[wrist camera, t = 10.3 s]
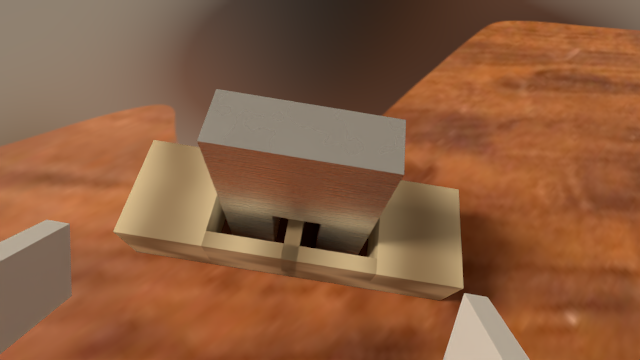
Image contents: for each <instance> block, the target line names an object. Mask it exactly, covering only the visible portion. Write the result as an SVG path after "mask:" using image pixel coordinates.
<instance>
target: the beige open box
mask: <svg viewBox="0 0 640 360" xmlns="http://www.w3.org/2000/svg"><path fill="white" fill-rule="evenodd" d="M225 219H226V217H225V214H224V211H223V209H222V206H221V203H220V201H219V198H218V195H217V193H216V190H215V187H214V185H213V182H212V179H211V177H210V174H209V171H208V169H207V166H206V163H205V161H204V158H203V155H202V153H201V150H200V147H194V146H188V145H182V144H176V143H169V142H163V141H157V140H154V141H153V143H152V145H151V148H150V150H149V152H148V154H147V157H146V159H145V161H144V163H143V166H142V168H141V170H140V172H139V175H138V177H137V179H136V181H135V184H134V186H133V188H132V190H131V193H130V195H129V197H128V199H127V202H126V204H125V206H124V208H123V211H122V213H121V215H120V218H119V220H118V222H117V224H116V227H115V229H114V231H113V232H114V233H115V234H117V235H118V236H119V237H120V238H121V239H122V240H124V241H125V242H126V243H127V244H128V245H129V246H131V247H132V248H133V249H134V250H135V251H137V252H143V253H149V254H155V255H161V256H168V257H174V258H180V259H186V260H192V261H199V262H205V263H211V264H217V265H223V266H229V267H236V268H242V269H248V270H254V271H260V272H267V273H273V274H279V275H285V276H291V277H298V278H304V279H310V280H316V281H322V282H328V283H335V284H341V285H347V286H353V287H359V288H366V289H372V290H378V291H384V292H390V293H397V294H403V295H409V296H415V297H421V298H427V299H434V300H442V299H444V298H446V297H448V296H450V295H452V294H454V293H456V292H458V291H459V290H461V289H463V288H464V286H463V267H462V247H461V228H460V208H459V190H458V189H452V188H446V187H440V186H433V185H427V184H421V183H415V182H409V181H403V180H401V181H400V183H399V184H398V186H397V188H396V190H395V191H394V193H393V195H392V196H391V198H390V200H389V202H388V203H387V205H386V207H385V209H384V210H383V212H382V214H381V215H380V217H379V219H378V221H377V222H376V224H375V226H374V228H373V229H372V231H371V233H370V235H369V236H368V247H367V257H364V256H358V255H352V254H345V253H339V252H333V251H327V250H321V249H315V248H308V247H302V246H301V241H302V235H303V230H304V224H305V221H300V220H294V219H289V220H288V225H287V230H286V235H285V240H284V243H278V242H271V241H265V240H259V239H253V238H247V237H240V236H234V235H228V234H222V229H223V226H224V222H225Z"/></svg>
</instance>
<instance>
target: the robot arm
mask: <svg viewBox="0 0 640 360" xmlns="http://www.w3.org/2000/svg"><path fill="white" fill-rule="evenodd" d="M71 296H72V291H71V256H70V224H69V223H63V222H57V221H51V220H45V221H43V222H41V223H39V224H37V225H35V226H33V227H31V228H29V229H26V230H24V231H22V232H20V233H18V234H16V235H14V236H12V237H10V238H8V239H6V240H4V241H2V242H0V354H1V353H2V352H3V351H5V350H6V349H7V348H8V347H10V346H11V345H12V344H13V343H14V342H16V341H17V340H18V339H19V338H21V337H22V336H23V335H24V334H25V333H27V332H28V331H29V330H30V329H32V328H33V327H34V326H35V325H37V324H38V323H39V322H40V321H41V320H43V319H44V318H45V317H46V316H48V315H49V314H50V313H51V312H52V311H54V310H55V309H56V308H57V307H59V306H60V305H61V304H62V303H64V302H65V301H66V300H67V299H68V298H70V297H71ZM443 360H530V359H529V358H528V357H527V355H526V354H525V352H524V351H523V349H522V348H521V346H520V345H519V343H518V342H517V340H516V339H515V337H514V336H513V334H512V333H511V331H510V330H509V328H508V327H507V325H506V324H505V322H504V321H503V319H502V318H501V316H500V315H499V313H498V312H497V310H496V309H495V307H494V306H493V304H492V303H491V301H490V300H489V298H488V297H485V296H479V295H473V294H468V293H464V296H463V299H462V302H461V305H460V308H459V311H458V314H457V318H456V321H455V324H454V327H453V330H452V333H451V337H450V340H449V343H448V346H447V349H446V352H445V356H444V359H443Z"/></svg>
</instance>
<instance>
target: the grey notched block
mask: <svg viewBox="0 0 640 360" xmlns="http://www.w3.org/2000/svg"><path fill="white" fill-rule="evenodd" d="M405 129H406V120H402V119H396V118H390V117H384V116H378V115H371V114H366V113H359V112H353V111H348V110H341V109H335V108H329V107H323V106H317V105H311V104H304V103H299V102H293V101H287V100H280V99H274V98H268V97H262V96H256V95H250V94H243V93H238V92H231V91H225V90H219V89H216V92H215V94H214V97H213V100H212V103H211V105H210V108H209V110H208V113H207V116H206V118H205V121H204V124H203V127H202V129H201V132H200V135H199V138H198V140H197V142H198V144H199V147H200V150H201V153H202V155H203V158H204V161H205V163H206V166H207V169H208V171H209V174H210V177H211V179H212V182H213V185H214V187H215V190H216V193H217V195H218V198H219V201H220V203H221V206H222V209H223V211H224V214H225V217H226V219H227V222H228V225H229V227H230V230H231V233H232V235H234V236H240V237H247V238H253V239H259V240H265V241H271V242H276V239H277V234H278V229H279V224H280V220H281V218H287V219H294V220H300V221H306V222H312V223H318V224H319V228H318V235H317V241H316V248H315V249H321V250H327V251H333V252H339V253H345V254H352V255H358V254H359V252H360V250H361V248H362V247H363V245H364V243H365V241H366V240H367V238H368V236H369V235H370V233H371V231H372V229H373V228H374V226H375V224H376V222H377V221H378V219H379V217H380V215H381V214H382V212H383V210H384V209H385V207H386V205H387V203H388V202H389V200H390V198H391V196H392V195H393V193H394V191H395V190H396V188H397V186H398V184H399V183H400V181H401V179H402V177H403V176H404V159H405Z"/></svg>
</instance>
